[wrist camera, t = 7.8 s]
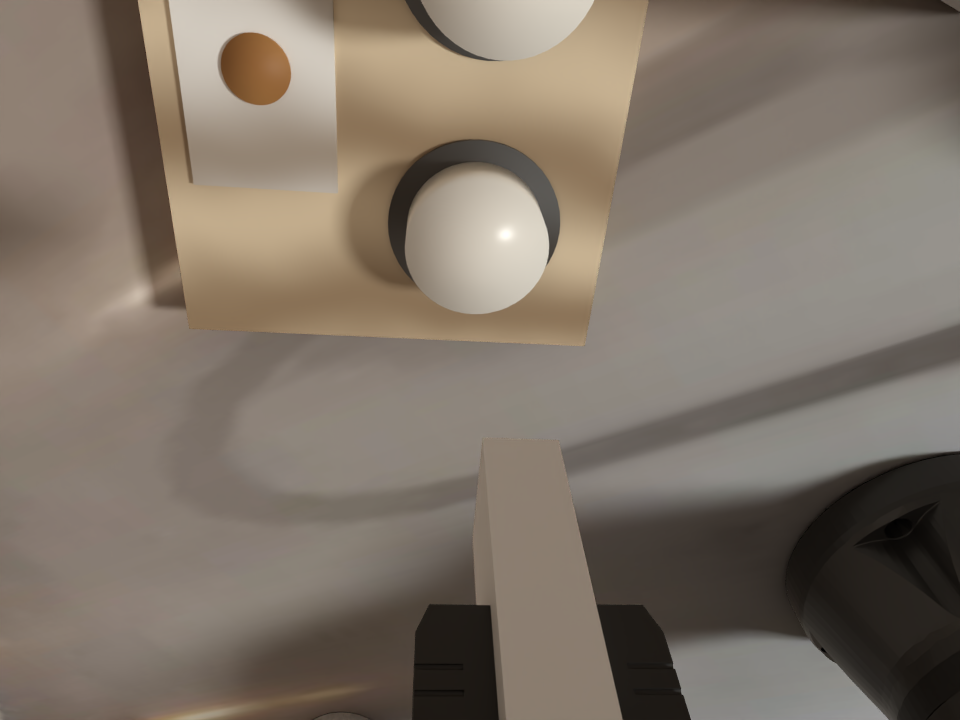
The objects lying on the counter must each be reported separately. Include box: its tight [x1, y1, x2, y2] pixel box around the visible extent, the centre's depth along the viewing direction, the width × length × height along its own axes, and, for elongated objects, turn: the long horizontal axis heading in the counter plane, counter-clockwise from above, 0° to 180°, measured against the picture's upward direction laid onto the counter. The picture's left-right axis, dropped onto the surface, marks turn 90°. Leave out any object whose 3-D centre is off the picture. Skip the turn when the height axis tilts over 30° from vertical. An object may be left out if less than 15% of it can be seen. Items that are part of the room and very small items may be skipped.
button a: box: [405, 162, 549, 314], centre depth 25 cm, size 5×5×2 cm
